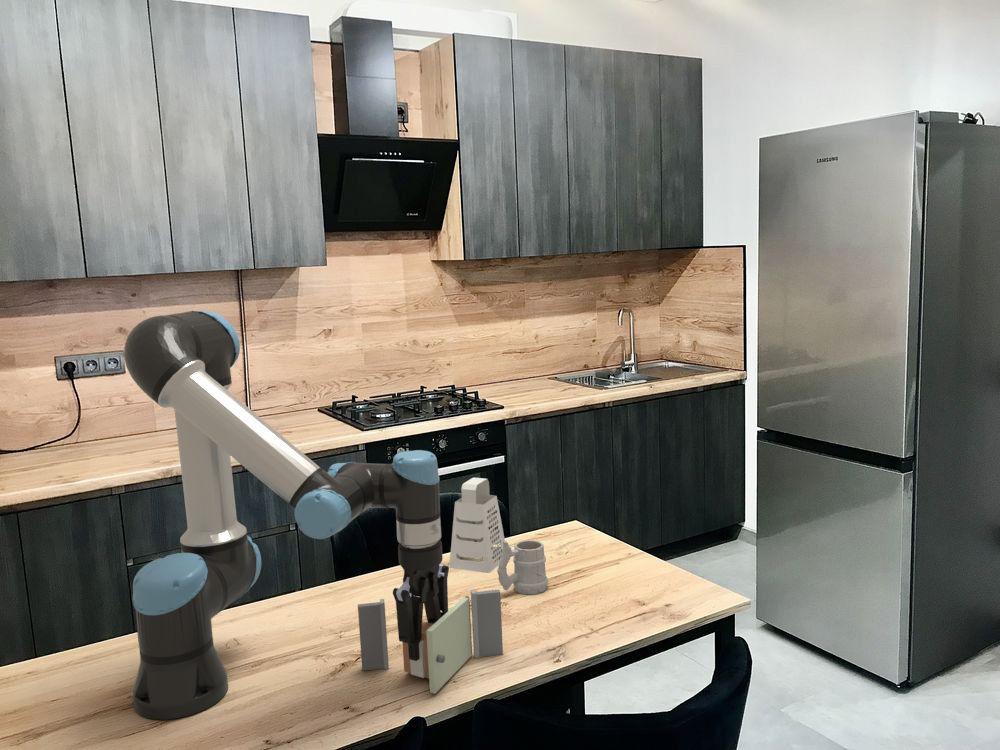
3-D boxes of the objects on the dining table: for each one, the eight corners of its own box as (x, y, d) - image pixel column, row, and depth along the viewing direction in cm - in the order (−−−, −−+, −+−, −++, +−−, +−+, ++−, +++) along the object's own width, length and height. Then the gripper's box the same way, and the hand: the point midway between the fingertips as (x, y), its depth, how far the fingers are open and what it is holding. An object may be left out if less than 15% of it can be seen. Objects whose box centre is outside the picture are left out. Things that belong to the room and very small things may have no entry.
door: (440, 694, 138) (437, 632, 136) (429, 692, 139) (426, 630, 137) (478, 654, 151) (475, 597, 150) (468, 652, 152) (465, 595, 150)
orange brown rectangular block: (404, 671, 145) (401, 628, 144) (417, 661, 149) (415, 619, 148) (437, 680, 142) (434, 636, 141) (450, 670, 145) (447, 627, 144)
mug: (555, 589, 180) (553, 536, 178) (508, 603, 174) (506, 548, 172) (535, 578, 186) (533, 527, 185) (490, 591, 180) (488, 538, 179)
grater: (507, 557, 200) (504, 477, 197) (489, 573, 191) (485, 489, 188) (468, 552, 205) (465, 473, 202) (449, 567, 195) (444, 485, 192)
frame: (362, 671, 148) (357, 605, 146) (362, 666, 149) (357, 601, 148) (503, 655, 151) (500, 590, 150) (501, 650, 153) (498, 586, 151)
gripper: (407, 561, 133) (414, 697, 136) (465, 529, 147) (470, 652, 151) (370, 554, 137) (378, 686, 140) (430, 523, 151) (436, 644, 154)
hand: (426, 668), depth 145 cm, fingers closed on orange brown rectangular block, 4 cm apart
